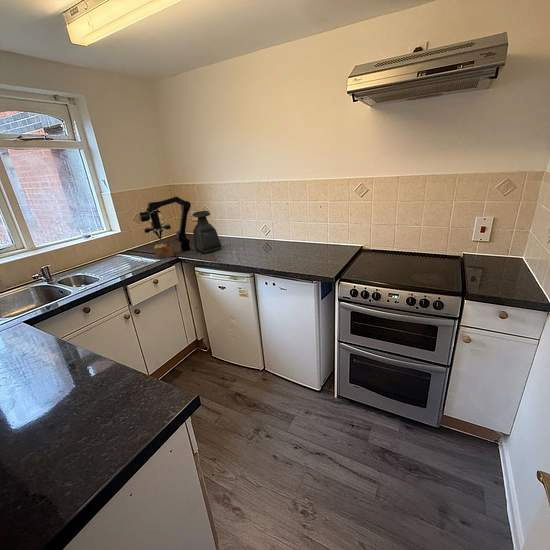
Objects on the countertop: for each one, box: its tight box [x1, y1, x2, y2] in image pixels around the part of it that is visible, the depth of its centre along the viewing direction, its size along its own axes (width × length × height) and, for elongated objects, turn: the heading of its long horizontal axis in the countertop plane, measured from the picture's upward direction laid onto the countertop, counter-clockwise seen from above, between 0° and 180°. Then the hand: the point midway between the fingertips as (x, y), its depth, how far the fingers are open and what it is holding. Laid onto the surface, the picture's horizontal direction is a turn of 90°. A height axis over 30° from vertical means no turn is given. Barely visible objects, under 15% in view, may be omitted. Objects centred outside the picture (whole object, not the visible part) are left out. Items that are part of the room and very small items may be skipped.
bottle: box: [191, 210, 222, 255], centre depth 228 cm, size 18×16×30 cm
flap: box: [154, 243, 164, 250], centre depth 229 cm, size 6×12×1 cm, turn 19°
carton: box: [154, 242, 176, 260], centre depth 232 cm, size 13×12×8 cm
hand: (160, 239), depth 228 cm, fingers closed
